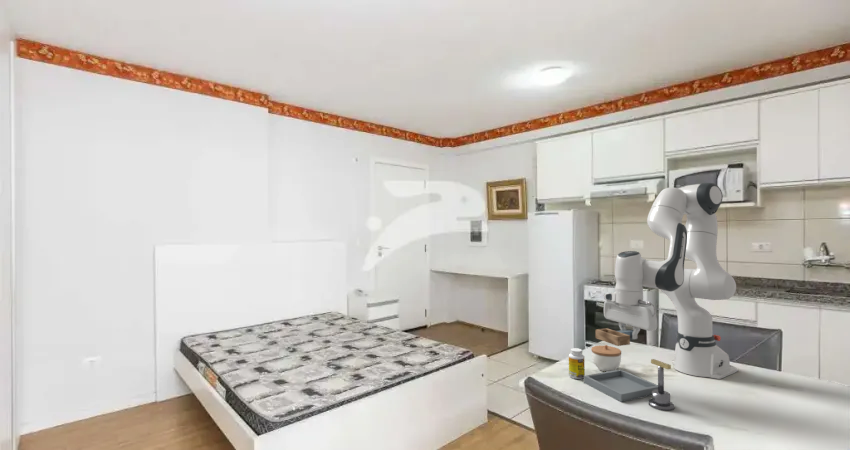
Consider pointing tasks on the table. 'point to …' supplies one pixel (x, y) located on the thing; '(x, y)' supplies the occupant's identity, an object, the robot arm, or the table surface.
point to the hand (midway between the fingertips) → (629, 337)
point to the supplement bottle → (576, 364)
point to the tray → (620, 385)
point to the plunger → (661, 390)
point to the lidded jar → (606, 357)
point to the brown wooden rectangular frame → (614, 336)
